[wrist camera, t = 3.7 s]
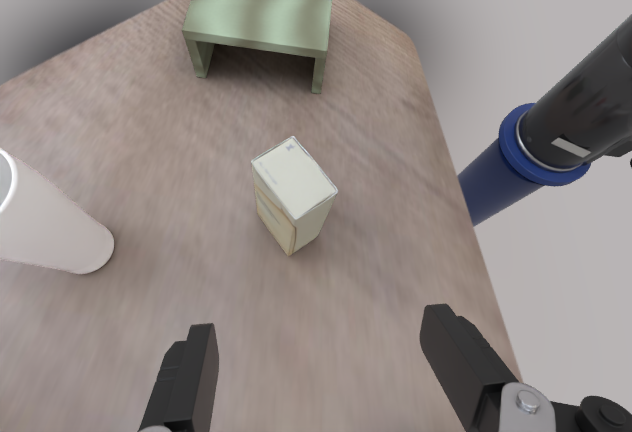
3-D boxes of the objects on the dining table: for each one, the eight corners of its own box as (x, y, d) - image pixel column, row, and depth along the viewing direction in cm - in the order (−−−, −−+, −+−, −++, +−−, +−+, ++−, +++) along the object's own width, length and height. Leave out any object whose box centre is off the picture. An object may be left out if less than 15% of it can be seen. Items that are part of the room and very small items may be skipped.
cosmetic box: (256, 214, 37) (245, 159, 26) (289, 193, 38) (292, 132, 27) (289, 259, 36) (293, 221, 25) (322, 236, 37) (340, 190, 26)
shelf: (327, 21, 48) (334, -28, 42) (320, 93, 44) (327, 51, 37) (215, 5, 47) (205, -49, 41) (196, 77, 43) (181, 29, 36)
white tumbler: (50, 288, 33) (-125, 249, 19) (54, 223, 35) (-99, 144, 21) (124, 276, 34) (11, 231, 20) (124, 213, 36) (22, 133, 22)
